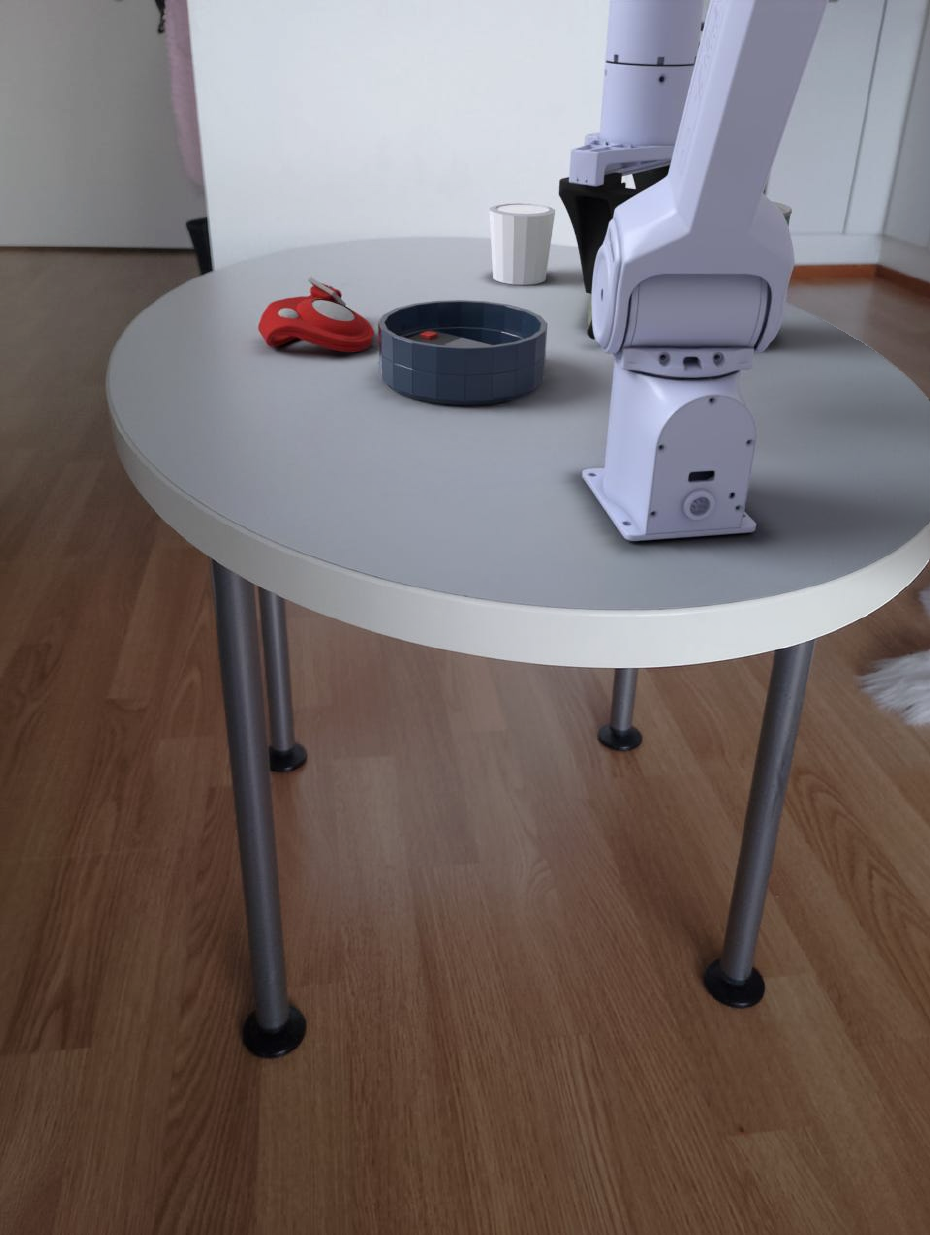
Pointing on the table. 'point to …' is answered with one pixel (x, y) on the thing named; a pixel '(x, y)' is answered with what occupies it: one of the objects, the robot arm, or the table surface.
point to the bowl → (463, 352)
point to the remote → (445, 339)
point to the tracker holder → (316, 321)
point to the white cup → (521, 242)
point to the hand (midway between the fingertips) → (629, 283)
